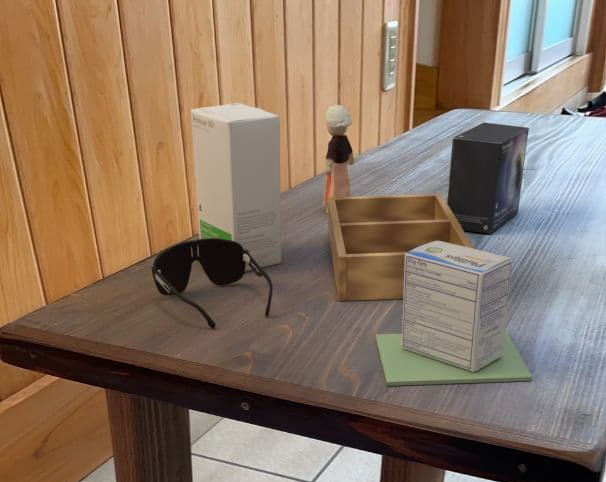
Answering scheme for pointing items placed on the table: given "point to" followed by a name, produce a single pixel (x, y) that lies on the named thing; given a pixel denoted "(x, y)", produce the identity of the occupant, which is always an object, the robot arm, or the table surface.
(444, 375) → the pad
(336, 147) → the grandmother figurine
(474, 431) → the table surface
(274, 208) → the cosmetic box
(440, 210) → the organizer
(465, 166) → the small box
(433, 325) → the medicine box
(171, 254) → the sunglasses
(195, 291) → the table surface
